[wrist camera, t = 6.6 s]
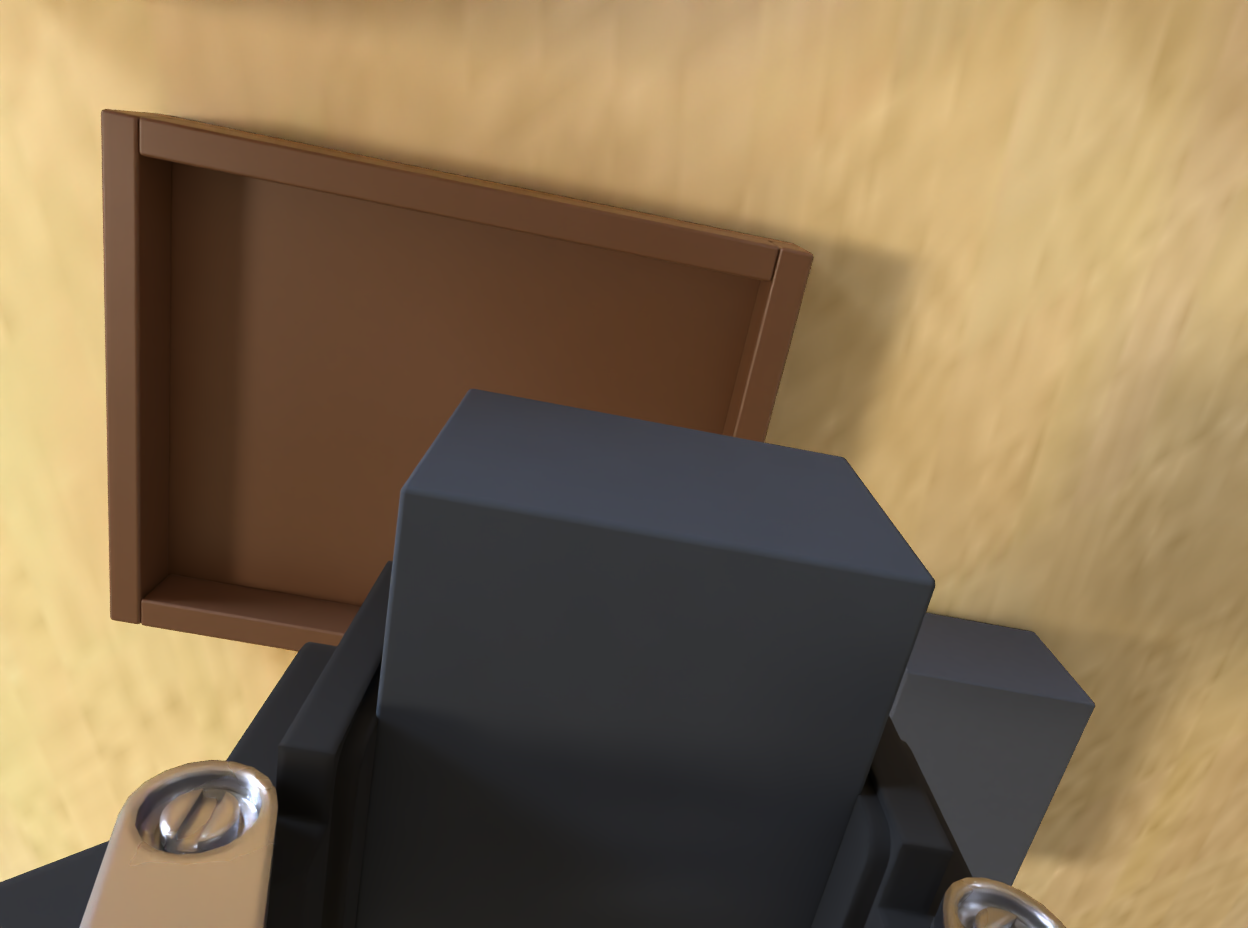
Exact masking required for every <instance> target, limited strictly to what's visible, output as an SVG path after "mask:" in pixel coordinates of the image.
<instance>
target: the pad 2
mask: <svg viewBox="0 0 1248 928" xmlns="http://www.w3.org/2000/svg"><path fill="white" fill-rule="evenodd" d="M1094 707H1095V703H1094V702H1093V701H1092V700H1091V699H1090V697H1089V696H1088V695H1087V694H1086V693H1085V691H1084V690H1083V689H1082V688H1081V687H1080V686H1079V684H1078V683H1077V682H1076V681H1075V680H1074V678H1073V677H1072V676H1071V675H1070V674H1069V673H1068V671H1067V670H1066V669H1065V668H1064V667H1063V666H1062V664H1061V663H1060V662H1059V661H1058V660H1057V658H1056V657H1055V656H1054V655H1053V654H1052V653H1051V651H1050V650H1049V649H1048V648H1047V647H1046V646H1045V644H1044V643H1043V642H1042V641H1041V640H1040V638H1039V637H1038V636H1037V635H1036V634H1035V633H1034V632H1031V631H1026V630H1020V629H1015V628H1009V627H1003V626H998V625H992V624H987V623H981V622H975V621H970V620H964V619H959V618H953V617H947V616H942V615H936V614H931V613H926V614H925V616H924V619H923V622H922V625H921V627H920V630H919V633H918V636H917V639H916V641H915V644H914V647H913V650H912V653H911V655H910V658H909V661H908V664H907V666H906V669H905V672H904V675H903V678H902V680H901V683H900V686H899V689H898V692H897V694H896V697H895V700H894V703H893V706H892V708H891V711H890V714H889V716H890V718H891V720H892V722H893V724H894V726H895V729H896V731H897V733H898V735H899V737H900V739H901V740H903V741H905V742H906V743H907V744H908V746H909V747H910V749H911V750H912V752H913V754H914V757H915V759H916V761H917V763H918V765H919V767H920V769H921V771H922V773H923V775H924V777H925V779H926V781H927V783H928V785H929V788H930V790H931V792H932V794H933V796H934V798H935V800H936V802H937V804H938V806H939V808H940V810H941V812H942V814H943V817H944V819H945V821H946V823H947V825H948V827H949V829H950V831H951V833H952V835H953V837H954V839H955V841H956V843H957V846H958V848H959V850H960V852H961V854H962V856H963V858H964V860H965V862H966V864H967V866H968V868H969V870H970V872H971V875H972V877H973V878H987V879H991V880H995V881H999V882H1003V883H1005V884H1007V885H1009V886H1012V884H1013V882H1014V879H1015V877H1016V875H1017V873H1018V871H1019V869H1020V867H1021V864H1022V862H1023V860H1024V858H1025V856H1026V854H1027V851H1028V849H1029V847H1030V845H1031V843H1032V841H1033V839H1034V836H1035V834H1036V832H1037V830H1038V828H1039V826H1040V823H1041V821H1042V819H1043V817H1044V815H1045V813H1046V811H1047V808H1048V806H1049V804H1050V802H1051V800H1052V798H1053V796H1054V793H1055V791H1056V789H1057V787H1058V785H1059V783H1060V780H1061V778H1062V776H1063V774H1064V772H1065V770H1066V768H1067V765H1068V763H1069V761H1070V759H1071V757H1072V755H1073V752H1074V750H1075V748H1076V746H1077V744H1078V742H1079V740H1080V737H1081V735H1082V733H1083V731H1084V729H1085V727H1086V724H1087V722H1088V720H1089V718H1090V716H1091V714H1092V712H1093V709H1094Z"/></svg>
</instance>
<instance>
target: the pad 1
mask: <svg viewBox="0 0 1248 928" xmlns="http://www.w3.org/2000/svg"><path fill="white" fill-rule="evenodd" d="M934 588H935V580H934V579H933V577H932V576H931V574H930V573H929V572H928V570H927V569H926V568H925V566H924V565H923V564H922V562H921V561H920V559H919V558H918V557H917V555H916V554H915V553H914V551H913V550H912V549H911V547H910V546H909V545H908V543H907V542H906V540H905V539H904V538H903V536H902V535H901V534H900V532H899V531H898V530H897V528H896V527H895V526H894V524H893V523H892V521H891V520H890V519H889V517H888V516H887V515H886V513H885V512H884V511H883V509H882V508H881V506H880V505H879V504H878V502H877V501H876V500H875V498H874V497H873V496H872V494H871V493H870V492H869V490H868V489H867V487H866V486H865V485H864V483H863V482H862V481H861V479H860V478H859V477H858V475H857V474H856V473H855V471H854V470H853V468H852V467H851V466H850V464H849V463H848V462H847V460H846V459H845V458H843V457H839V456H833V455H828V454H823V453H817V452H812V451H806V450H801V449H796V448H790V447H785V446H780V445H774V444H769V443H763V442H758V441H753V440H747V439H742V438H737V437H731V436H726V435H720V434H715V433H710V432H704V431H699V430H693V429H688V428H683V427H677V426H672V425H667V424H661V423H656V422H650V421H645V420H640V419H634V418H629V417H624V416H618V415H613V414H607V413H602V412H597V411H591V410H586V409H580V408H575V407H570V406H564V405H559V404H554V403H548V402H543V401H537V400H532V399H527V398H521V397H516V396H511V395H505V394H500V393H494V392H489V391H484V390H478V389H469V390H468V392H467V393H466V395H465V396H464V398H463V399H462V401H461V402H460V404H459V405H458V406H457V408H456V409H455V411H454V412H453V414H452V415H451V417H450V418H449V420H448V421H447V423H446V424H445V426H444V427H443V428H442V430H441V431H440V433H439V434H438V436H437V437H436V439H435V440H434V442H433V443H432V445H431V446H430V447H429V449H428V450H427V452H426V453H425V455H424V456H423V458H422V459H421V461H420V462H419V464H418V465H417V466H416V468H415V469H414V471H413V472H412V474H411V475H410V477H409V478H408V480H407V481H406V483H405V484H404V486H403V487H402V489H401V490H400V499H399V508H398V518H397V527H396V536H395V545H394V554H393V563H392V572H391V581H390V590H389V599H388V608H387V617H386V627H385V636H384V645H383V654H382V663H381V672H380V681H379V690H378V699H377V708H376V717H377V718H378V725H377V734H376V743H375V752H374V761H373V770H372V779H371V788H370V797H369V806H368V815H367V824H366V833H365V842H364V851H363V859H362V868H361V877H360V886H359V895H358V904H357V913H356V922H355V928H811V925H812V922H813V919H814V917H815V914H816V911H817V908H818V905H819V903H820V900H821V897H822V894H823V891H824V889H825V886H826V883H827V880H828V877H829V875H830V872H831V869H832V866H833V864H834V861H835V858H836V855H837V852H838V850H839V847H840V844H841V841H842V838H843V836H844V833H845V830H846V827H847V824H848V822H849V819H850V816H851V813H852V810H853V808H854V805H855V802H856V799H857V796H858V795H861V792H862V789H863V786H864V784H865V781H866V778H867V775H868V772H869V770H870V767H871V764H872V761H873V759H874V756H875V753H876V750H877V747H878V745H879V742H880V739H881V736H882V733H883V731H884V728H885V725H886V722H887V719H888V717H889V714H890V711H891V708H892V706H893V703H894V700H895V697H896V694H897V692H898V689H899V686H900V683H901V680H902V678H903V675H904V672H905V669H906V666H907V664H908V661H909V658H910V655H911V653H912V650H913V647H914V644H915V641H916V639H917V636H918V633H919V630H920V627H921V625H922V622H923V619H924V616H925V614H926V611H927V608H928V605H929V602H930V600H931V597H932V594H933V591H934Z"/></svg>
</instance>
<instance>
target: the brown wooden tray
mask: <svg viewBox="0 0 1248 928" xmlns="http://www.w3.org/2000/svg"><path fill="white" fill-rule="evenodd" d="M101 135H102V189H103V244H104V298H105V352H106V407H107V461H108V516H109V570H110V618H111V619H112V620H116V621H122V622H128V623H134V624H140V623H142V625H145V626H151V627H157V628H163V629H169V630H175V631H180V632H186V633H192V634H198V635H204V636H210V637H216V638H222V639H228V640H234V641H240V642H246V643H252V644H258V645H264V646H270V647H276V648H282V649H288V650H294V651H299V650H300V649H301V648H302V647H303V645H304V644H305V643H307V642H314V643H321V644H327V645H333V646H338V644H339V643H340V641H341V639H342V637H343V636H344V634H345V632H346V631H347V629H348V627H349V626H350V624H351V622H352V621H353V619H354V617H355V616H356V614H357V612H358V610H359V609H360V607H361V605H362V604H363V602H364V600H365V599H366V597H367V595H368V594H369V592H370V590H371V589H372V587H373V585H374V583H375V582H376V580H377V578H378V577H379V575H380V573H381V572H382V570H383V568H384V567H385V565H386V563H387V562H388V561H393V554H394V545H395V536H396V527H397V518H398V508H399V499H400V490H401V489H402V487H403V486H404V484H405V483H406V481H407V480H408V478H409V477H410V475H411V474H412V472H413V471H414V469H415V468H416V466H417V465H418V464H419V462H420V461H421V459H422V458H423V456H424V455H425V453H426V452H427V450H428V449H429V447H430V446H431V445H432V443H433V442H434V440H435V439H436V437H437V436H438V434H439V433H440V431H441V430H442V428H443V427H444V426H445V424H446V423H447V421H448V420H449V418H450V417H451V415H452V414H453V412H454V411H455V409H456V408H457V406H458V405H459V404H460V402H461V401H462V399H463V398H464V396H465V395H466V393H467V392H468V390H469V389H478V390H484V391H489V392H494V393H500V394H505V395H511V396H516V397H521V398H527V399H532V400H537V401H543V402H548V403H554V404H559V405H564V406H570V407H575V408H580V409H586V410H591V411H597V412H602V413H607V414H613V415H618V416H624V417H629V418H634V419H640V420H645V421H650V422H656V423H661V424H667V425H672V426H677V427H683V428H688V429H693V430H699V431H704V432H710V433H715V434H720V435H726V436H731V437H737V438H742V439H747V440H753V441H758V442H763V443H764V441H765V437H766V434H767V430H768V426H769V422H770V419H771V415H772V411H773V407H774V404H775V400H776V396H777V393H778V389H779V385H780V381H781V378H782V374H783V370H784V366H785V363H786V359H787V355H788V351H789V348H790V344H791V340H792V336H793V333H794V329H795V325H796V321H797V318H798V314H799V310H800V306H801V303H802V299H803V295H804V292H805V288H806V284H807V280H808V277H809V273H810V269H811V265H812V262H813V254H812V253H810V252H808V251H806V250H804V249H803V248H801V247H799V246H797V245H796V244H793V243H788V242H784V241H779V240H774V239H769V238H764V237H759V236H754V235H749V234H744V233H740V232H735V231H730V230H725V229H720V228H715V227H710V226H705V225H700V224H696V223H691V222H686V221H681V220H676V219H671V218H666V217H661V216H656V215H651V214H647V213H642V212H637V211H632V210H627V209H622V208H617V207H612V206H607V205H603V204H598V203H593V202H588V201H583V200H578V199H573V198H568V197H563V196H559V195H554V194H549V193H544V192H539V191H534V190H529V189H524V188H519V187H515V186H510V185H505V184H500V183H495V182H490V181H485V180H480V179H475V178H470V177H466V176H461V175H456V174H451V173H446V172H441V171H436V170H431V169H426V168H422V167H417V166H412V165H407V164H402V163H397V162H392V161H387V160H382V159H378V158H373V157H368V156H363V155H358V154H353V153H348V152H343V151H338V150H333V149H329V148H324V147H319V146H314V145H309V144H304V143H299V142H294V141H289V140H285V139H280V138H275V137H270V136H265V135H260V134H255V133H250V132H245V131H241V130H236V129H231V128H226V127H221V126H216V125H211V124H206V123H201V122H197V121H192V120H187V119H182V118H177V117H172V116H167V115H162V114H156V113H145V112H133V111H121V110H110V109H105V110H102V112H101Z"/></svg>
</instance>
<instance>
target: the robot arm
mask: <svg viewBox="0 0 1248 928" xmlns="http://www.w3.org/2000/svg"><path fill="white" fill-rule="evenodd" d="M392 563H393V561H388V562H387V563H386V565H385V567H384V568H383V570H382V572H381V573H380V575H379V577H378V578H377V580H376V582H375V583H374V585H373V587H372V589H371V590H370V592H369V594H368V595H367V597H366V599H365V600H364V602H363V604H362V605H361V607H360V609H359V610H358V612H357V614H356V616H355V617H354V619H353V621H352V622H351V624H350V626H349V627H348V629H347V631H346V632H345V634H344V636H343V637H342V639H341V641H340V643H339V644H338V646H333V645H327V644H321V643H314V642H307V643H305V644H304V645H303V647H302V648H301V649H300V650H299V652H298V653H297V655H296V656H295V658H294V659H293V661H292V662H291V664H290V665H289V667H288V668H287V670H286V671H285V673H284V674H283V676H282V677H281V679H280V680H279V682H278V683H277V685H276V686H275V688H274V689H273V691H272V692H271V694H270V695H269V697H268V698H267V700H266V701H265V703H264V704H263V706H262V707H261V709H260V710H259V712H258V713H257V715H256V716H255V718H254V720H253V721H252V723H251V724H250V726H249V727H248V729H247V730H246V732H245V733H244V735H243V736H242V738H241V739H240V741H239V742H238V744H237V745H236V747H235V748H234V750H233V751H232V753H231V754H230V756H229V757H228V759H227V760H226V761H219V760H208V761H201V762H193V763H187V764H184V765H181V766H178V767H175V768H172V769H169V770H166V771H164V772H162V773H160V774H158V775H157V776H155V777H153V778H151V779H150V780H148V781H146V782H144V783H143V784H142V785H141V786H140V787H139V788H138V789H137V790H136V791H134V792H133V793H132V794H131V795H130V796H129V797H128V799H127V800H126V802H125V804H124V806H123V807H122V809H121V811H120V812H119V814H118V817H117V820H116V823H115V826H114V829H113V832H112V835H111V838H110V840H109V841H107V842H105V843H102V844H99V845H97V846H94V847H92V848H89V849H86V850H84V851H81V852H79V853H76V854H73V855H71V856H68V857H66V858H63V859H60V860H58V861H55V862H52V863H50V864H47V865H45V866H42V867H39V868H37V869H34V870H32V871H29V872H26V873H24V874H21V875H18V876H16V877H13V878H11V879H8V880H5V881H3V882H0V928H355V922H356V913H357V904H358V895H359V886H360V877H361V868H362V859H363V851H364V842H365V833H366V824H367V815H368V806H369V797H370V788H371V779H372V770H373V761H374V752H375V743H376V734H377V725H378V718H377V717H376V708H377V699H378V690H379V681H380V672H381V663H382V654H383V645H384V636H385V627H386V617H387V608H388V599H389V590H390V581H391V572H392ZM811 928H1066V927H1065V926H1064V925H1063V923H1062V922H1061V921H1060V920H1059V919H1058V918H1057V917H1056V916H1054V915H1053V914H1052V913H1051V912H1050V911H1049V910H1048V909H1047V908H1046V907H1045V906H1044V905H1042V904H1041V903H1039V902H1038V901H1036V900H1035V899H1033V898H1032V897H1030V896H1029V895H1027V894H1026V893H1024V892H1022V891H1020V890H1018V889H1016V888H1014V887H1012V886H1009V885H1007V884H1005V883H1003V882H999V881H995V880H991V879H987V878H973V877H972V875H971V872H970V870H969V868H968V866H967V864H966V862H965V860H964V858H963V856H962V854H961V852H960V850H959V848H958V846H957V843H956V841H955V839H954V837H953V835H952V833H951V831H950V829H949V827H948V825H947V823H946V821H945V819H944V817H943V814H942V812H941V810H940V808H939V806H938V804H937V802H936V800H935V798H934V796H933V794H932V792H931V790H930V788H929V785H928V783H927V781H926V779H925V777H924V775H923V773H922V771H921V769H920V767H919V765H918V763H917V761H916V759H915V757H914V754H913V752H912V750H911V749H910V747H909V746H908V744H907V743H906V742H905V741H903V740H901V739H900V737H899V735H898V733H897V731H896V729H895V726H894V724H893V722H892V720H891V718H890V716H889V717H888V719H887V722H886V725H885V728H884V731H883V733H882V736H881V739H880V742H879V745H878V747H877V750H876V753H875V756H874V759H873V761H872V764H871V767H870V770H869V772H868V775H867V778H866V781H865V784H864V786H863V789H862V792H861V795H858V796H857V799H856V802H855V805H854V808H853V810H852V813H851V816H850V819H849V822H848V824H847V827H846V830H845V833H844V836H843V838H842V841H841V844H840V847H839V850H838V852H837V855H836V858H835V861H834V864H833V866H832V869H831V872H830V875H829V877H828V880H827V883H826V886H825V889H824V891H823V894H822V897H821V900H820V903H819V905H818V908H817V911H816V914H815V917H814V919H813V922H812V925H811Z"/></svg>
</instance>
